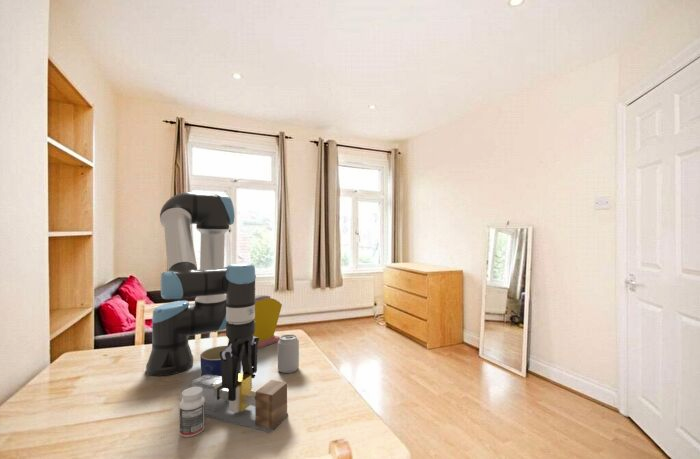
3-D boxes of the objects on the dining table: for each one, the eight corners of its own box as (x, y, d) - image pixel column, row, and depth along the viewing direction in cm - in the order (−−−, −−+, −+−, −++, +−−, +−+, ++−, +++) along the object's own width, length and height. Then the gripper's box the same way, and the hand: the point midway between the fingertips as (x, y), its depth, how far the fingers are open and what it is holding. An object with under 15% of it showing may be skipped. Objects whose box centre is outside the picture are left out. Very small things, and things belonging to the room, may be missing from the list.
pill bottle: (185, 424, 82) (185, 385, 82) (208, 423, 82) (208, 384, 82) (175, 438, 76) (175, 397, 76) (199, 437, 76) (199, 396, 76)
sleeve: (191, 409, 89) (191, 381, 89) (206, 399, 94) (206, 373, 94) (214, 414, 86) (214, 386, 86) (228, 404, 91) (228, 377, 91)
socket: (254, 427, 80) (254, 391, 80) (270, 412, 87) (270, 379, 87) (272, 431, 79) (272, 395, 79) (287, 416, 85) (287, 382, 85)
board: (187, 411, 87) (187, 409, 87) (209, 397, 95) (209, 395, 95) (271, 432, 78) (271, 430, 78) (288, 415, 86) (288, 413, 86)
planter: (249, 381, 105) (249, 348, 105) (220, 399, 94) (220, 362, 94) (222, 374, 110) (222, 343, 111) (191, 390, 99) (191, 355, 99)
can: (301, 365, 118) (301, 333, 118) (295, 374, 110) (295, 340, 110) (281, 365, 118) (281, 332, 119) (274, 373, 111) (274, 339, 111)
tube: (192, 400, 89) (192, 372, 90) (203, 393, 93) (203, 366, 93) (257, 415, 82) (257, 384, 82) (266, 407, 86) (266, 378, 86)
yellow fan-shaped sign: (272, 335, 153) (272, 290, 153) (285, 339, 147) (285, 292, 148) (231, 349, 135) (232, 298, 135) (245, 353, 129) (245, 301, 130)
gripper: (229, 331, 77) (229, 427, 77) (270, 314, 93) (270, 393, 93) (205, 327, 80) (205, 421, 79) (249, 311, 96) (249, 389, 96)
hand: (240, 406), depth 86 cm, fingers closed on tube, 4 cm apart
